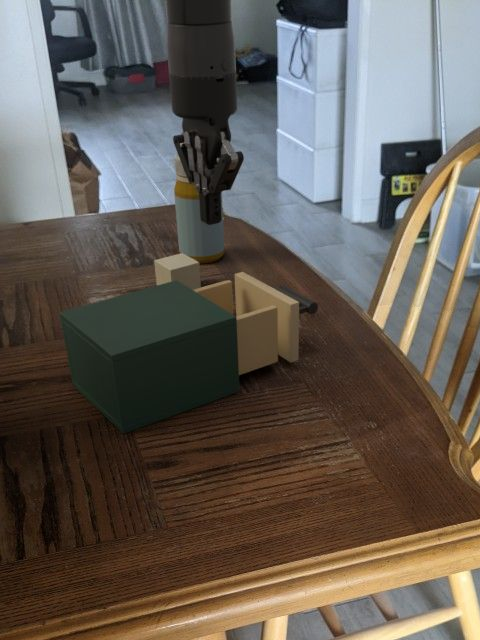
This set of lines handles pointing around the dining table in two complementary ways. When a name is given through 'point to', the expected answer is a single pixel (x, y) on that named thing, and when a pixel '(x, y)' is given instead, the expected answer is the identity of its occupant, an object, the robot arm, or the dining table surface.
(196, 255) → the bottle
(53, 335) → the dining table surface
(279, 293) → the drawer
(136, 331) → the cabinet
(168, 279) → the block
